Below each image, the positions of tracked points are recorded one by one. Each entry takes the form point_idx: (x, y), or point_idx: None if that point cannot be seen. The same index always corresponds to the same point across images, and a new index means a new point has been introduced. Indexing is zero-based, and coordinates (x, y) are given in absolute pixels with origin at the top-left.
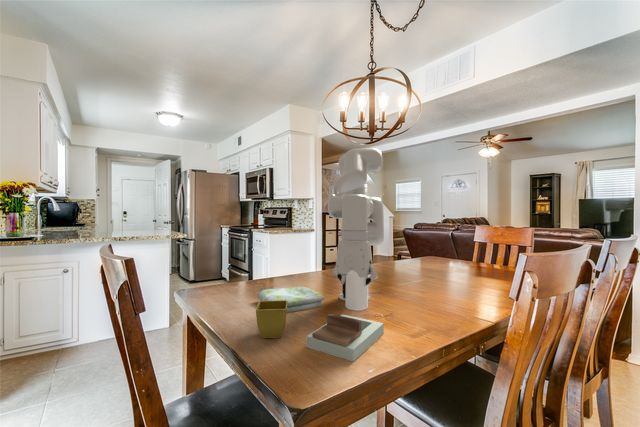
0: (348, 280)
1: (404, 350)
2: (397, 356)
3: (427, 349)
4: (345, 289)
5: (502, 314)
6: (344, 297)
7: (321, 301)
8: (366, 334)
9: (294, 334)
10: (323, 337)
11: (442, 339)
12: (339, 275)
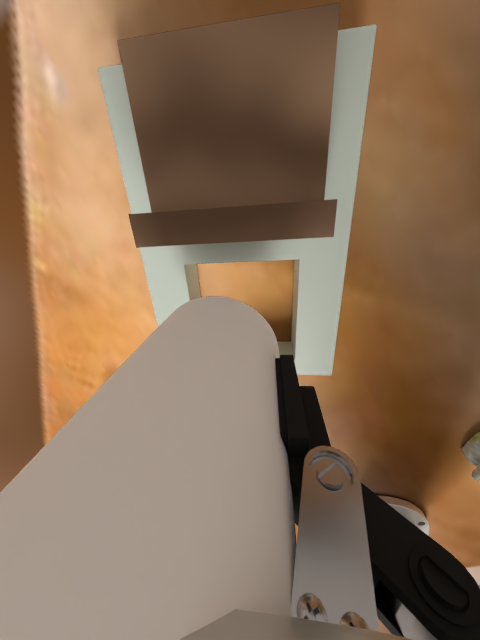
0: (176, 467)
1: (77, 286)
2: (65, 238)
3: (47, 324)
4: (278, 401)
5: None
6: (282, 355)
7: (475, 464)
8: (153, 254)
9: (473, 151)
10: (257, 22)
11: (61, 390)
12: (440, 605)
